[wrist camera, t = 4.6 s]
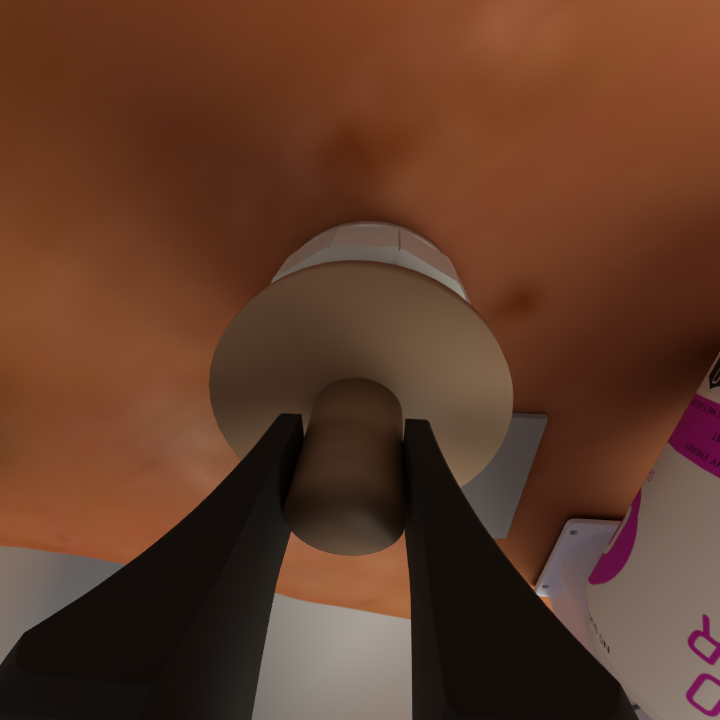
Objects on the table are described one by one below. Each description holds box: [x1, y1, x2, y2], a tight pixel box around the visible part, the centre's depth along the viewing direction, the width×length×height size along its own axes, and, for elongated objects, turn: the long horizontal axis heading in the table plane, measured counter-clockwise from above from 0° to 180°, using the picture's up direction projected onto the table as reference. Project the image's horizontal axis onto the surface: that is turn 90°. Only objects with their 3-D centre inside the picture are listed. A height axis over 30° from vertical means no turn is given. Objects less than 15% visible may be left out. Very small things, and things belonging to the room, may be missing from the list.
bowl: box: [271, 221, 471, 304], centre depth 17 cm, size 9×9×4 cm
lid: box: [209, 260, 513, 556], centre depth 11 cm, size 10×10×5 cm
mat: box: [404, 413, 548, 539], centre depth 24 cm, size 11×11×1 cm
